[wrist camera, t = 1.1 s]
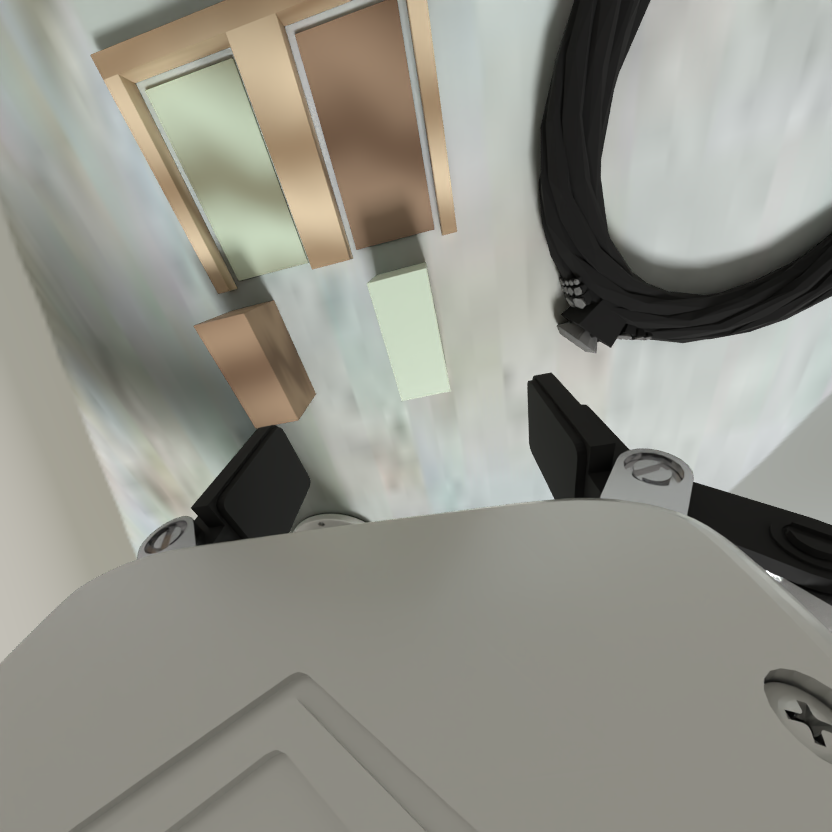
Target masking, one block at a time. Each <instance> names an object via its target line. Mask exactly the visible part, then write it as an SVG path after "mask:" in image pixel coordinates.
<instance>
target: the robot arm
mask: <svg viewBox="0 0 832 832" xmlns="http://www.w3.org/2000/svg"><path fill="white" fill-rule="evenodd" d="M528 420H529V445H530V449H531V452H532V454H533V456H534V458H535V460H536V462H537V464H538V466H539V468H540V470H541V472H542V474H543V476H544V478H545V480H546V482H547V485H548V487H549V489H550V491H551V493H552V495H553V497H554V499H555V500H544V501H534V502H524V503H514V504H506V505H499V506H491V507H483V508H475V509H467V510H460V511H452V512H444V513H436V514H428V515H421V516H413V517H406V518H398V519H390V520H383V521H375V522H368V523H365V522H364V521H361V520H359V519H357V518H354V517H351V516H347V515H341V514H321V515H316V516H312V517H309V518H307V519H305V520H303V521H302V522H301V523H299V524H298V525H297V527H296V528H295V529H294V532H293V533H289V532H290V529H291V527H292V525H293V523H294V520H295V518H296V516H297V514H298V511H299V509H300V507H301V505H302V503H303V500H304V498H305V496H306V494H307V491H308V489H309V487H310V478H309V476H308V474H307V472H306V470H305V469H304V467H303V465H302V463H301V461H300V460H299V458H298V456H297V454H296V452H295V451H294V449H293V447H292V445H291V443H290V442H289V440H288V438H287V436H286V434H285V433H284V431H283V429H281V428H278V427H277V426H276V425H270V426H264V427H259V428H258V429H257V430H256V431H255V432H254V434H253V435H252V436H251V437H250V438H249V440H248V441H247V442H246V443H245V444H244V445H243V447H242V448H241V449H240V450H239V451H238V453H237V454H236V455H235V456H234V457H233V459H232V460H231V461H230V462H229V463H228V464H227V466H226V467H225V468H224V469H223V470H222V472H221V473H220V474H219V475H218V476H217V477H216V479H215V480H214V481H213V482H212V483H211V485H210V486H209V487H208V488H207V489H206V490H205V492H204V493H203V494H202V495H201V496H200V498H199V499H198V500H197V501H196V502H195V503H194V505H193V506H192V507H191V509H192V510H193V511H194V512H195V513H196V514H197V515H198V517H197V518H196V519H195V521H194V520H193V519H192V518H191V517H189V516H182V517H179V518H176V519H173V520H171V521H169V522H167V523H165V524H164V525H162V526H161V527H159V528H158V529H156V530H155V531H154V532H153V533H151V534H150V535H149V536H148V537H147V538H146V540H145V541H144V542H143V543H142V545H141V546H140V548H139V551H138V556H137V560H135V561H132V562H129V563H126V564H124V565H121V566H119V567H117V568H115V569H112V570H110V571H108V572H106V573H104V574H102V575H100V576H98V577H96V578H95V579H93V580H91V581H89V582H87V583H86V584H84V585H83V586H81V587H80V588H78V589H77V590H76V591H74V592H73V593H72V594H71V595H70V596H69V597H67V598H66V599H65V600H64V601H63V602H62V603H61V604H60V605H59V606H58V607H57V608H56V609H55V610H54V611H52V612H51V614H49V615H48V616H47V617H46V618H45V619H44V620H43V621H42V622H41V623H40V624H39V625H38V626H37V627H36V628H35V629H34V630H33V631H32V632H31V633H30V634H29V635H28V636H27V637H26V638H25V639H24V640H23V641H22V642H21V643H20V644H19V645H18V646H17V647H16V648H15V649H14V650H13V651H12V652H11V653H10V654H9V655H8V656H7V657H6V658H5V659H4V660H3V661H2V662H1V663H0V832H832V525H830V524H827V523H824V522H821V521H819V520H816V519H813V518H810V517H807V516H804V515H800V514H797V513H794V512H790V511H787V510H784V509H780V508H777V507H774V506H771V505H767V504H764V503H761V502H758V501H754V500H751V499H748V498H744V497H741V496H738V495H735V494H731V493H728V492H725V491H722V490H718V489H715V488H712V487H708V486H705V485H702V484H699V483H695V482H693V480H694V477H693V471H692V470H691V469H690V467H689V466H688V465H687V464H686V463H685V462H684V461H682V460H681V459H680V458H677V457H675V456H673V455H671V454H669V453H666V452H662V451H659V450H653V449H633V450H629V449H628V448H627V447H626V446H625V445H624V443H623V442H622V441H621V440H620V439H619V438H618V437H617V436H616V435H615V434H614V433H613V432H612V431H611V430H610V429H609V428H608V427H607V426H606V424H605V423H604V422H603V421H602V420H601V419H600V418H599V417H598V416H597V415H596V414H595V413H594V412H593V411H592V410H591V409H590V408H589V407H588V406H587V405H581V404H580V403H579V402H578V401H577V400H576V399H575V398H574V397H573V395H572V394H571V393H570V392H569V391H568V390H567V389H566V388H565V387H564V386H563V385H562V383H561V382H560V381H559V380H558V379H557V378H556V377H555V376H554V375H553V374H552V373H546V374H541V375H536V376H533V380H531V381H528Z"/></svg>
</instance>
